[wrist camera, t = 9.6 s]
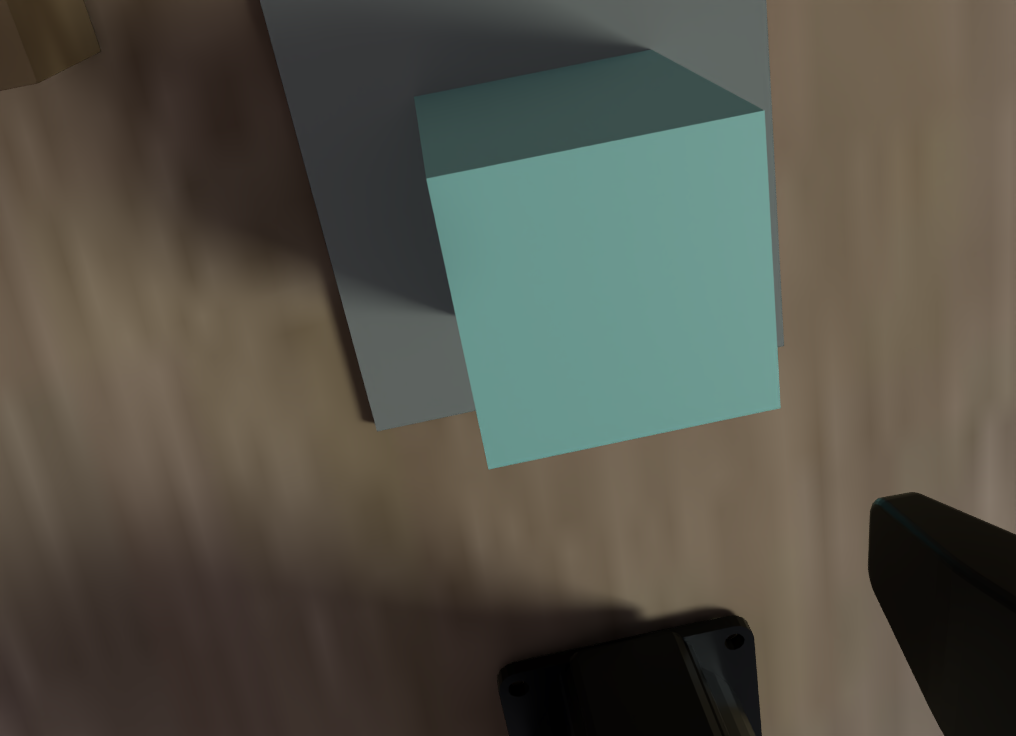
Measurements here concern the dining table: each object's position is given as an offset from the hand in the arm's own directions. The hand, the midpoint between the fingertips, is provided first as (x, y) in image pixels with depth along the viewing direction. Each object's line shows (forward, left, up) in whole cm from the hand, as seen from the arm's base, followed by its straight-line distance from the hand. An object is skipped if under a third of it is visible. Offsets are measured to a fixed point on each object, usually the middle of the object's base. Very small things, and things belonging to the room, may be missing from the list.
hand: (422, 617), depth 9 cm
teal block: (+1, -3, -11) cm, 11 cm away
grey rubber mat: (+1, -3, -11) cm, 12 cm away
